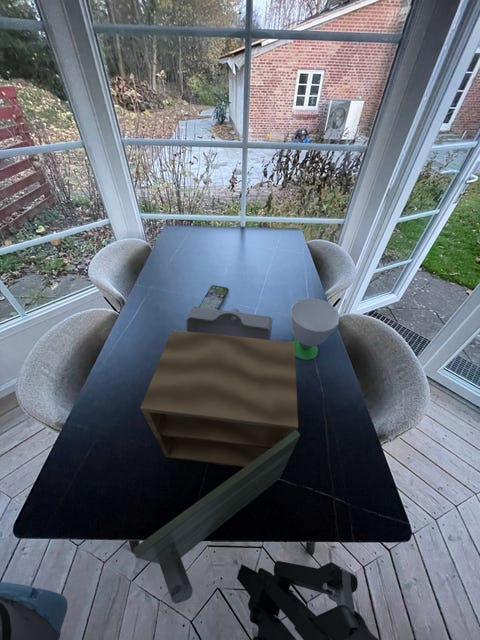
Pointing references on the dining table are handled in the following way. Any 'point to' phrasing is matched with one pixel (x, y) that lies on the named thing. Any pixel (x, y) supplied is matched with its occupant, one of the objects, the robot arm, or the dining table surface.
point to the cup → (312, 325)
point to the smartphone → (214, 297)
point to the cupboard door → (211, 516)
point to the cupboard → (222, 397)
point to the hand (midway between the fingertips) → (248, 575)
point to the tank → (228, 323)
